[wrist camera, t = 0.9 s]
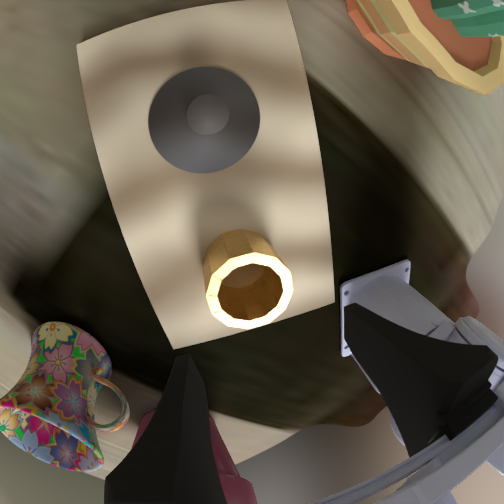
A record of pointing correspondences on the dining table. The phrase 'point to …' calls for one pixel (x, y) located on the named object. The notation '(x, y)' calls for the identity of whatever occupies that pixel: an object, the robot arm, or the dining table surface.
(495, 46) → the potted cactus
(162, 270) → the post board
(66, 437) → the mug
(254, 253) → the brass collar
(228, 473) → the plant pot
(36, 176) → the dining table surface
